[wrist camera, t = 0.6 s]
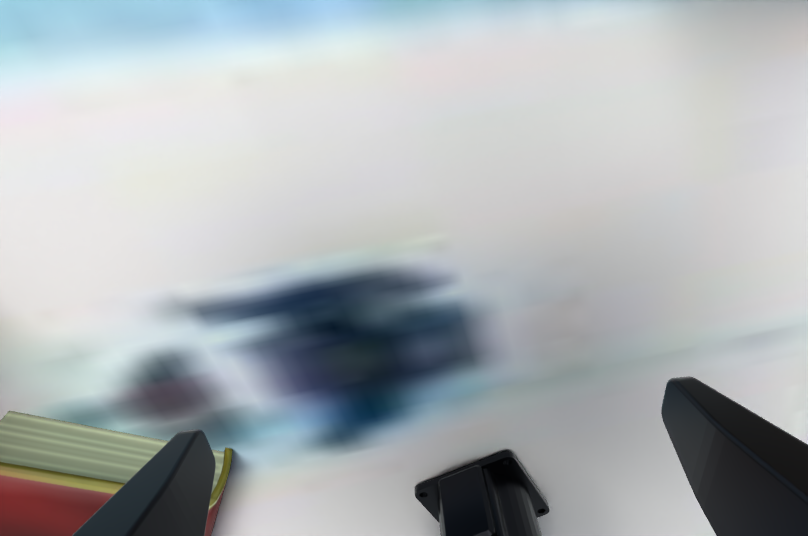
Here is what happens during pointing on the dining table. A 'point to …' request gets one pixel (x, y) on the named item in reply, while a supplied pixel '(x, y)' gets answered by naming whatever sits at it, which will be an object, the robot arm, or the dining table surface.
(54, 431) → the hardcover book
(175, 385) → the dining table surface
